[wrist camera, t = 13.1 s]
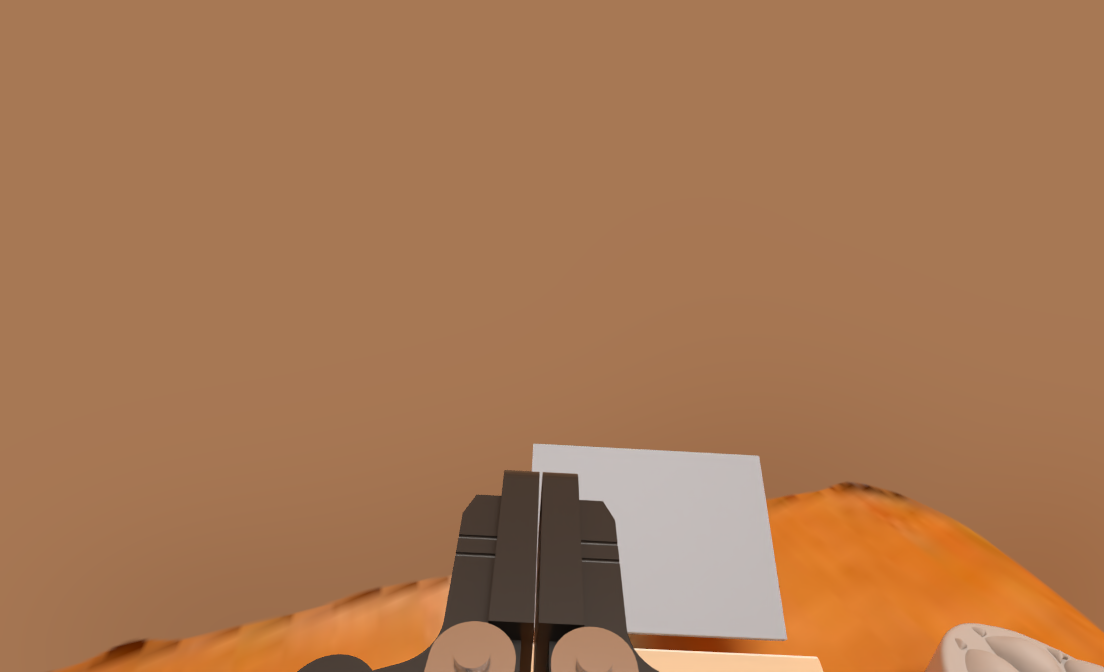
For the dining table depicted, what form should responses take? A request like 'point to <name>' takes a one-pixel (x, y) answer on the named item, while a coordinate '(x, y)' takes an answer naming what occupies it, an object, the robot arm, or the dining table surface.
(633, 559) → the flap
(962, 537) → the dining table surface
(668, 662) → the carton
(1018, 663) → the paw print tray
